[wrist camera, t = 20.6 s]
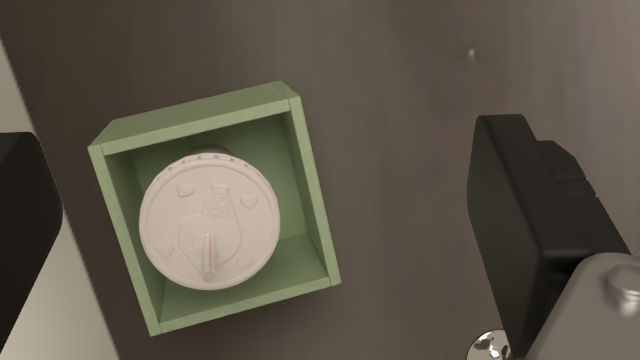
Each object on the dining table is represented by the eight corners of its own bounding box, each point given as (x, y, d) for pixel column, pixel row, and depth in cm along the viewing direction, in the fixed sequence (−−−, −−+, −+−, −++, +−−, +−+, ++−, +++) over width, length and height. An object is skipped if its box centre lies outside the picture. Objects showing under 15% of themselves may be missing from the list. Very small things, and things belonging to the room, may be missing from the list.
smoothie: (146, 215, 37) (111, 328, 23) (165, 110, 35) (140, 167, 22) (251, 232, 38) (275, 348, 25) (273, 133, 37) (311, 198, 23)
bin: (161, 275, 39) (150, 337, 31) (111, 119, 36) (86, 147, 28) (316, 233, 40) (341, 283, 32) (281, 79, 37) (300, 95, 29)
